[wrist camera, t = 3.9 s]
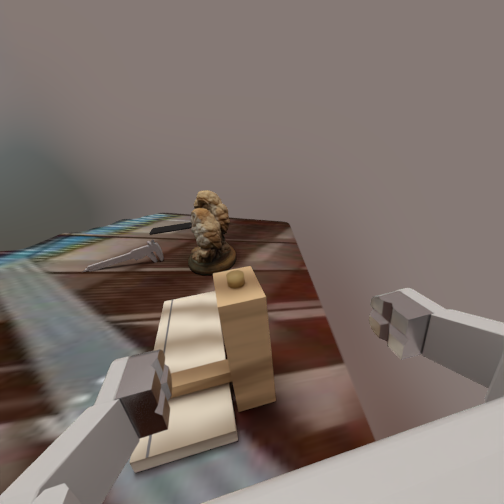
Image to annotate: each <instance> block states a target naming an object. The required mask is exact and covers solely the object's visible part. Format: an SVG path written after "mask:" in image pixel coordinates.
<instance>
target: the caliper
mask: <svg viewBox="0 0 504 504" xmlns="http://www.w3.org/2000/svg"><path fill="white" fill-rule="evenodd" d="M147 244H148V245H146V246H143V247H140V248H137V249H134V250H132V251H131V252H130V253H127V254H124V255H121V256H118V257H115V258H111V259H108V260H105V261H102V262H99V263H96V264H93V265H90V266H88V267H87V269H85V270H84V271H83V272H86V271H95V270H98V269H101V268H104V267H107V266H110V265H113V264H117V263H120V262H123V261H126V260H129V259H132V258H135V260H138V259H142V258H143V257H145V256H146V255H147V256H148V257H149V258H150V259H151V260H152V261H154V262H157V259H156V257H155V255H154V253H153V252H154V251H155V252H156V253H157V255H158V256H159V258H160V260H161V261H163V259H164V257H163V254H162V250H161V248H160V246H159V245H158V243H155V242H154V241H153V239H152V241H151V242H150V241H147Z"/></svg>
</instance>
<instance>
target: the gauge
mask: <svg viewBox="0 0 504 504" xmlns="http://www.w3.org/2000/svg"><path fill="white" fill-rule="evenodd" d="M213 279H214V286H215V293H216V299H217V306H218V312H219V317H220V322H221V327H222V332H223V337H224V342H225V347H226V352H227V357H228V359H225V360H221V361H217V362H213V363H209V364H205V365H202V366H198V367H194V368H190V369H186V370H182V371H178V372H174V373H171V377H172V396H171V397H170V398H173V397H177V396H181V395H184V394H188V393H192V392H195V391H199V390H203V389H206V388H210V387H214V386H217V385H221V384H225V383H228V382H233V387H234V392H235V397H236V402H237V407H238V412H240V411H244V410H247V409H251V408H254V407H257V406H261V405H264V404H268V403H271V402H274V401H276V395H275V385H274V375H273V365H272V354H271V344H270V334H269V324H268V314H267V303H266V296H265V294H264V292H263V290H262V288H261V286H260V284H259V282H258V280H257V278H256V276H255V274H254V272H253V270H252V268H251V266H248V267H243V268H238V269H233V270H228V271H223V272H218V273H213Z"/></svg>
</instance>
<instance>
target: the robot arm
mask: <svg viewBox="0 0 504 504" xmlns="http://www.w3.org/2000/svg"><path fill="white" fill-rule="evenodd" d="M371 307H372V308H373V311H372V312H371V313H370V315H369V322H370V326H371V329H372V330H373V332H374V333H375V334H376V335H377V336H378V337H379V338H381V339H383V340H385V341H387V345H388V347H389V348H390V349H391V350H392V351H393V352H394V353H395V354H396V355H397V356H398V357H399V358H400V359H406V358H409V357H413V356H417V355H420V354H422V355H423V356H424V357H426V358H428V359H430V360H433V361H434V362H436V363H438V364H440V365H442V366H444V367H446V368H448V369H451V370H452V371H455V372H456V373H459V374H461V375H462V376H464V377H466V378H469V379H470V380H472V381H474V382H477V383H478V384H481V385H483V386H485V387H487V388H489V389H488V392H487V394H486V396H485V403H484V404H481V405H478V406H476V407H473V408H470V409H467V410H464V411H461V412H459V413H455V414H453V415H450V416H447V417H444V418H441V419H439V420H436V421H433V422H430V423H427V424H424V425H421V426H419V427H416V428H413V429H410V430H407V431H404V432H402V433H399V434H396V435H393V436H390V437H388V438H385V439H382V440H379V441H376V442H373V443H370V444H368V445H365V446H362V447H359V448H356V449H353V450H351V451H348V452H345V453H342V454H339V455H336V456H334V457H331V458H328V459H325V460H322V461H320V462H317V463H314V464H311V465H308V466H305V467H303V468H300V469H297V470H294V471H291V472H288V473H286V474H283V475H280V476H277V477H274V478H272V479H269V480H266V481H263V482H260V483H257V484H255V485H252V486H249V487H246V488H243V489H240V490H238V491H235V492H232V493H229V494H226V495H223V496H221V497H218V498H215V499H212V500H209V501H207V502H204V503H201V504H504V323H502V322H498V321H495V320H491V319H487V318H483V317H479V316H475V315H471V314H467V313H464V312H459V311H455V310H452V309H449V310H446V309H445V308H443V307H441V306H440V305H438V304H436V303H434V302H433V301H431V300H430V299H428V298H426V297H425V296H423V295H421V294H420V293H418V292H416V291H415V290H413V289H410V288H404V289H400V290H397V291H394V292H390V293H386V294H382V295H378V296H374V297H373V298H372V299H371ZM171 396H172V377H171V372H170V369H169V367H168V366H167V365H165V355H164V353H163V350H161V349H159V350H155V351H150V352H146V353H141V354H137V355H132V356H129V357H125V358H120V359H116V360H114V361H113V362H112V363H111V366H110V368H109V370H108V373H107V375H106V378H105V380H104V382H103V385H102V387H101V390H100V392H99V394H98V397H97V399H96V402H95V404H94V406H92V407H88V408H87V409H86V410H85V411H84V412H83V413H82V414H81V415H80V416H79V417H78V418H77V419H76V420H75V421H74V422H73V423H72V424H71V425H70V426H69V427H68V428H67V429H66V430H65V431H64V432H63V433H62V434H61V435H60V436H59V437H58V438H57V439H56V440H55V441H54V442H53V443H52V444H51V445H50V446H49V447H48V448H47V449H46V450H45V451H44V452H43V453H42V454H41V455H40V456H39V457H38V458H37V459H36V460H35V461H34V462H33V463H32V464H31V465H30V466H29V467H28V468H27V469H26V470H25V471H24V472H23V473H22V474H21V475H20V476H19V477H18V478H17V479H16V480H15V481H14V482H13V483H12V484H11V485H10V486H9V487H8V488H7V489H6V490H5V491H4V492H3V493H2V494H1V495H0V504H102V503H103V501H104V499H105V498H106V496H107V494H108V493H109V491H110V489H111V488H112V486H113V484H114V483H115V481H116V479H117V478H118V476H119V474H120V473H121V471H122V469H123V468H124V466H125V464H126V463H127V461H128V459H129V458H130V456H131V454H132V453H133V451H134V449H135V448H136V446H137V445H138V443H139V441H140V438H143V437H146V436H149V435H152V434H155V433H159V432H162V431H165V430H168V425H169V416H170V406H169V404H168V400H169V399H170V397H171Z"/></svg>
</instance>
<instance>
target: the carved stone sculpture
mask: <svg viewBox="0 0 504 504" xmlns="http://www.w3.org/2000/svg"><path fill="white" fill-rule="evenodd" d="M196 198H197V199H196V200H195V203H194V210H193V211H192V213H191V223H192V224H193V228H192V232H193V233H194V235H195V238H196V240H197V244H198V246H199V247H196V248H194V249H192V251H191V253H192V254H191V255H190V257H189V260H188V264H189V267H190V269H191V270H192V271H193V272H195V273H197V274H199V273H200V274H201V275H213V273H218V272H223V271H227V270H228V269H230V268H231V267H232V266H233V264H234V263H235V261H236V254H235V251H234V249H233V248H232V247H231V246H229V245H228V244H227V243H226V241H225V237H224V235H223V234H225V233H227V232H226V231H227V230H228V227H229V225H228V224H230V220H229V219H228V218H229V217H228V209H227V207H226V206H225V205H224V204H222V202H221V199H220V198H219V197H218V195H217V194H215V193H214V192H211V191H207V190H206V191H200V192H199V193H198V194H197V197H196Z"/></svg>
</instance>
